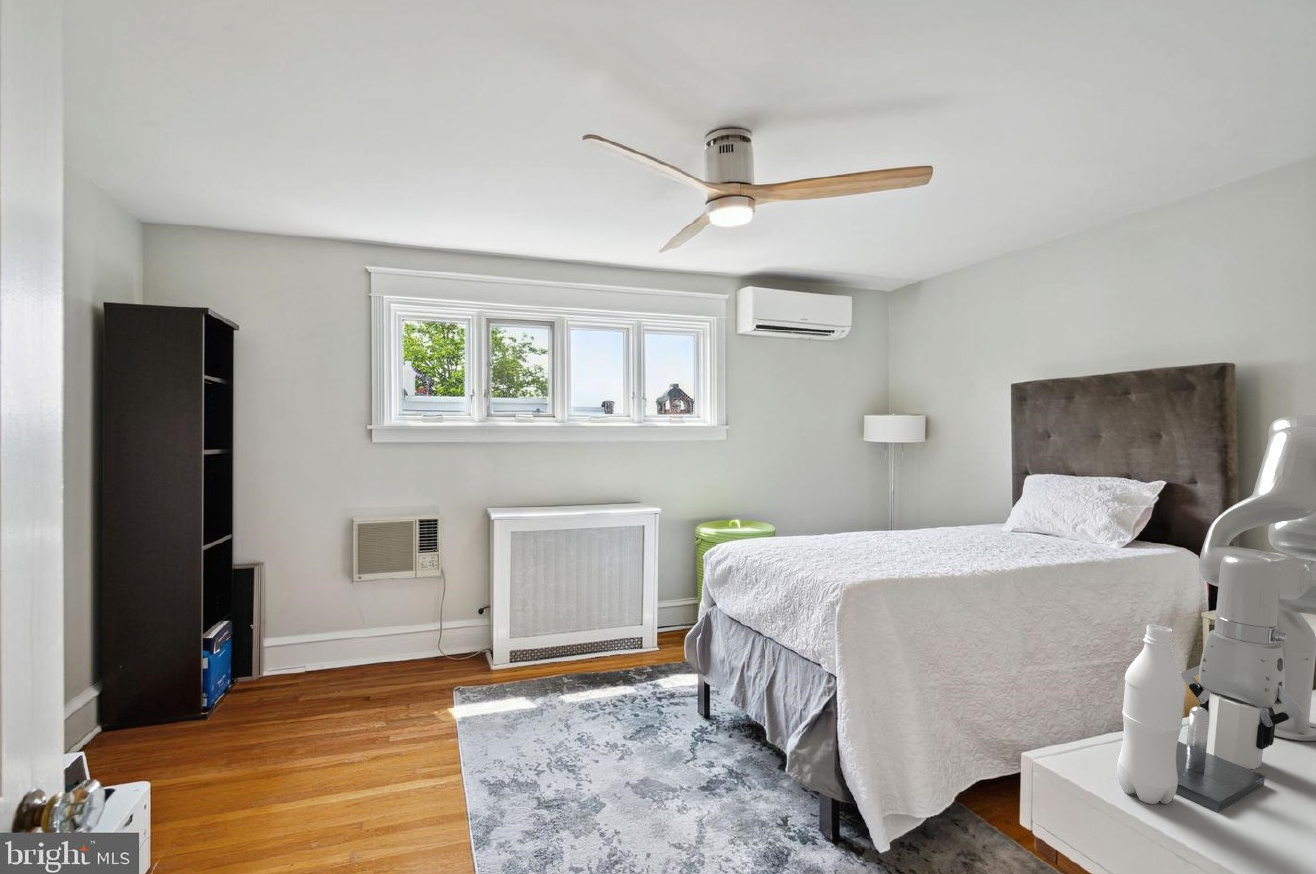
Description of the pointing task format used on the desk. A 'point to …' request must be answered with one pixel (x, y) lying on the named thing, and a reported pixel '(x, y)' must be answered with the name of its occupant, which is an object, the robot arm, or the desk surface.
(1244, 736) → the white hollow octagonal tube
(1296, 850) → the desk surface
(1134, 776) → the water bottle
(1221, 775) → the roll holder
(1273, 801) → the desk surface
